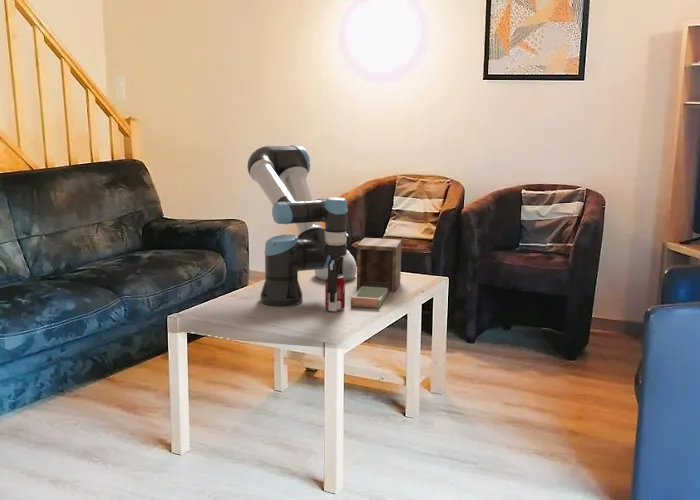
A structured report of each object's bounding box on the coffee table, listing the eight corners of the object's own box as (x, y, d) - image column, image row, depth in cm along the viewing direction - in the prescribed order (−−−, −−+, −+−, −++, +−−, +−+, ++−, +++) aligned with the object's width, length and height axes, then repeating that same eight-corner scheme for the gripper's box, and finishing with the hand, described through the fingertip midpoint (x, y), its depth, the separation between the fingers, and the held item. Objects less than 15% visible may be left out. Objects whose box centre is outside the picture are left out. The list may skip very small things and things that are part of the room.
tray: (350, 305, 277) (351, 297, 276) (361, 291, 296) (361, 283, 295) (378, 307, 275) (379, 299, 274) (387, 293, 294) (387, 285, 293)
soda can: (342, 312, 269) (342, 278, 267) (323, 311, 271) (323, 277, 268) (346, 307, 276) (346, 274, 273) (327, 306, 277) (328, 272, 275)
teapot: (366, 275, 323) (367, 243, 320) (342, 284, 308) (343, 250, 305) (328, 269, 333) (329, 237, 330) (303, 277, 317) (303, 244, 315)
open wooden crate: (356, 289, 300) (357, 244, 296) (363, 280, 314) (364, 237, 310) (395, 292, 297) (396, 247, 293) (400, 283, 311) (401, 239, 308)
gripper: (340, 249, 258) (339, 316, 263) (352, 238, 277) (350, 301, 282) (318, 248, 260) (317, 315, 264) (331, 237, 279) (330, 299, 283)
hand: (334, 307), depth 273 cm, fingers closed on soda can, 7 cm apart
